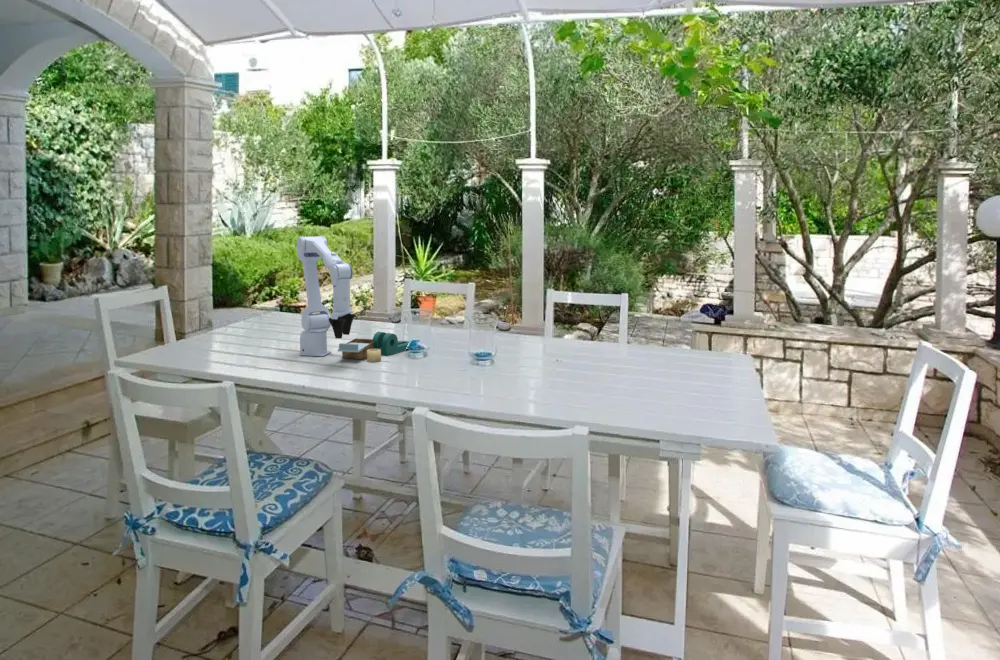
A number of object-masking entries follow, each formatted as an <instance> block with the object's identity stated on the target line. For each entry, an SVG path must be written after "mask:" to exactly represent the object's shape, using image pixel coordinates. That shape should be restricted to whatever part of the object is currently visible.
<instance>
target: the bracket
mask: <svg viewBox="0 0 1000 660" xmlns="http://www.w3.org/2000/svg"><path fill="white" fill-rule="evenodd" d="M372 339H373V342H374V349H380V350H381V356H390V355H395V354H398V353H402V352H405V349H406V347H407V345H408V343H409V342H410V341H408V340H400V341H399V340H398V336H397V335H396V333H390V332H385V331H384V332H383V331H377V332H375V334H374V335H373V336H372Z"/></svg>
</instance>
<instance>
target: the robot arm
mask: <svg viewBox="0 0 1000 660" xmlns="http://www.w3.org/2000/svg"><path fill="white" fill-rule="evenodd" d="M296 253H297V257H298V260H299V261H301V262H302V268H303V277H304V284H305V293H306V299H307V306H306V307H304V309H303V310H302V311H301V321H300V322H301V327H302V329H303V330H302V331H301V332H300V336H299V352H300V353H299V355H298V356H307V357H308V356H310V357H325V356H326V355H329V354H330V353H332V350H328V341H327V340H328V337H327V336H328V335H327V333H328V332H329V329H330V328H331V329H332V331H333V334H334V338H335V339H341V340H342V338H343V335H345V336H346V335H347V336H349V335H350V333H351V329H352V324H353V321H354V319H355V317H356V314H355V311H354V310H353V307H351V285H350V284H351V281H350V280H352V278H353V274H354V270H353V267H352V265H351V263H350V262H344V261H343V259H342V258H341V257H340V256H339V255H338V254H337V253H336V252H335V251H334V252H331V250H330V248H329V247H328V240H327V238H326V236H324V235H320V236H318V235H317V236H302V235H300V236H299V237H298V238H297V241H296ZM321 259H322V263H323V265H324V267H326V269H327V270H328V272H329V277H330V281H331V285H332V290H333V291H332V292H333V293H332V294H333V295H332V297H333V298H332V299H333V302H332V303H333V310H332V312H331V314H330V311H329V310H330V309H329V308H328V307H326V306H325V305H323V304H322V296H321V289H320V281H319V274H318V273H319V272H318V267H317V262H318V261H319V260H321Z"/></svg>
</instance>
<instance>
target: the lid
mask: <svg viewBox="0 0 1000 660" xmlns="http://www.w3.org/2000/svg"><path fill="white" fill-rule="evenodd" d="M367 345H368V343H349V344H346V342H345V343H344V342H343V343H341V342H339V343H338V348H337V352H341V353H342V352H360V351H362V350H363V349H365V346H367Z"/></svg>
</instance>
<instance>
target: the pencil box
mask: <svg viewBox="0 0 1000 660" xmlns="http://www.w3.org/2000/svg"><path fill="white" fill-rule="evenodd" d="M349 343H368V345H367V346H365V349H363V350H362V351H360V352H342V351H341V353H342V354H341V355H342V359H348V360H349V359H350V360H351V359H353V360H367V350H368V349H374V342H373V338H357V337H356V338H353V339H352V340H350V341H348V342H345V344H349Z"/></svg>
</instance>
